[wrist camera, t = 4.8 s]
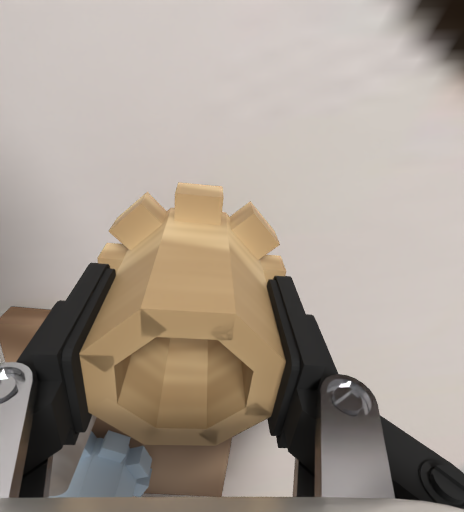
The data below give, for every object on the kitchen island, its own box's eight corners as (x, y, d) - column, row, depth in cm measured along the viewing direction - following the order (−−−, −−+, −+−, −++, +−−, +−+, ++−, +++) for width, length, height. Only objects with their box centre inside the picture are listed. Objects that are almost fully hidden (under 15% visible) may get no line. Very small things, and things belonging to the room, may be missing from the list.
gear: (33, 440, 22) (-28, 551, 17) (127, 421, 22) (94, 530, 16) (81, 495, 25) (43, 603, 20) (165, 479, 25) (148, 587, 19)
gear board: (11, 306, 19) (-106, 423, 12) (247, 326, 20) (257, 444, 13) (49, 467, 26) (-12, 596, 20) (221, 477, 27) (219, 603, 20)
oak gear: (101, 175, 11) (8, 260, 6) (293, 193, 12) (354, 283, 7) (113, 326, 15) (60, 463, 10) (263, 333, 16) (289, 465, 10)
